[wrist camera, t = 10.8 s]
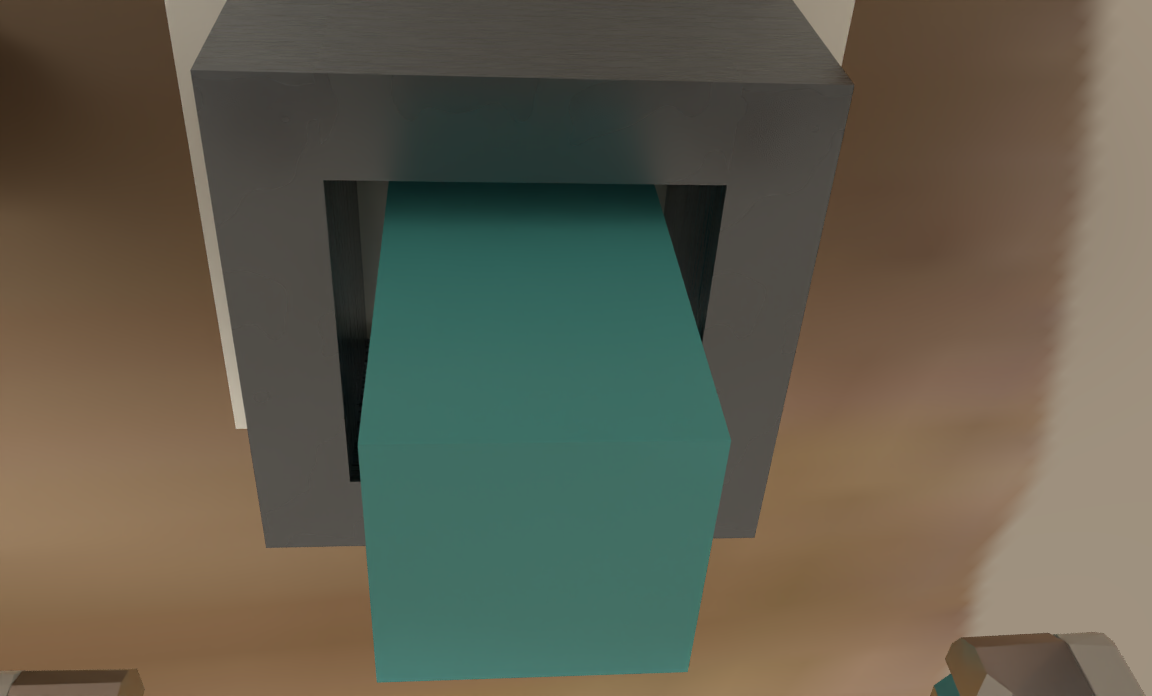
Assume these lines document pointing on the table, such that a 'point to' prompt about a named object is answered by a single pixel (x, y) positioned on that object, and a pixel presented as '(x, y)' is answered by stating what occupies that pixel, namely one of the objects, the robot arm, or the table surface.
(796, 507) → the table surface
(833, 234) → the table surface
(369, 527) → the plug
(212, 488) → the table surface
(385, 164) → the port
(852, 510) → the table surface
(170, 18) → the board
